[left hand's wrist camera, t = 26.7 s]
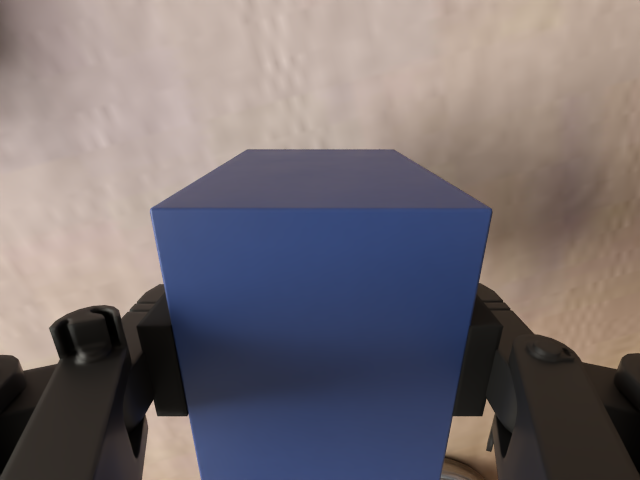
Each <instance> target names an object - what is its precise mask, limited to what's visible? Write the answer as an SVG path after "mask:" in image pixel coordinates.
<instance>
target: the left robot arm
mask: <svg viewBox="0 0 640 480" xmlns="http://www.w3.org/2000/svg"><path fill="white" fill-rule="evenodd" d="M49 329H50V332H51V335H52V338H53V341H54V344H55V346H56V349H57V352H58V355H59V358H60V360H59V362H58V364H55V365H50V366H45V367H40V368H35V369H30V370H25V371H23V370H22V367H21V365H20V362H19V360H18V359H17V358H15V357H14V356H11V355H0V480H142V473H143V465H144V457H145V449H146V442H147V434H148V424H147V419H146V415H145V413H146V412H147V410H148V408H149V406H150V405H151V403H152V401H153V399H154V404H155V408H156V412H157V416H188V408H187V403H186V397H185V392H184V387H183V382H182V376H181V371H180V366H179V361H178V356H177V350H176V345H175V340H174V335H173V329H172V324H171V319H170V314H169V308H168V303H167V298H166V293H165V287H164V284H159V285H158V286H156V287H154V288H153V289H151V290H149V291H147V292H146V293H145V294H144V295H143V296H142V297H141V298H140V299H139V300H138V301H137V304H135V305H134V306H133V307H132V308H131V309H130V312H127V313H126V314H125V315H124V316H123V318H122V319H121V317H120V313H119V310H118V309H116V308H115V307H113V306H106V305H101V306H91V307H87V308H83V309H79V310H76V311H74V312H71V313H69V314H66V315H65V316H63V317H62V318H60V319H58V320H57V321H55V322H54V323H53V324H52V325H51V326H50V328H49ZM486 398H487V400H488V401H489V403H490V405H491V407H492V408H493V410H494V412H495V415H494V419H493V423H492V427H491V431H490V435H489V439H488V443H487V449H486V451H490V452H491V451H492V447H493V444H494V449H495V456H496V464H497V472H498V480H640V353H635V354H627V355H625V356H624V357H622V359H621V361H620V364H619V366H618V369H613V368H608V367H603V366H598V365H593V364H588V363H584V362H581V360H580V358H579V357H578V356H577V354H576V353H575V352H574V351H573V350H572V349H570V348H569V347H567V346H566V345H565V344H563V343H561V342H559V341H556V340H554V339H552V338H549V337H545V336H541V335H535V334H534V333H533V332H532V331H531V330H530V329H529V328H528V327H527V326H526V325H525V324H524V323H523V322H522V320H521V319H520V318H519V317H518V316H517V315H516V314H515V313H514V312H513V311H511V310H510V308H509V307H508V306H507V304H506V303H503V300H502V299H501V298H500V297H499V296H498V295H497V294H496V293H495V292H494V291H493V290H491V289H489V288H488V287H486V286H484V285H482V284H481V283H479V284H478V289H477V294H476V299H475V304H474V309H473V314H472V320H471V325H470V327H469V332H468V337H467V342H466V347H465V352H464V358H463V363H462V368H461V373H460V378H459V383H458V389H457V394H456V399H455V404H454V409H453V414H452V416H482V415H483V411H484V407H485V403H486ZM440 480H485V479H484V478H483V477H482V476H481V475H480V474H479V473H478V472H477V471H475V470H474V469H472V468H471V467H469V466H467V465H465V464H463V463H460V462H457V461H455V460H451V459H448V458H444V463H443V468H442V473H441V478H440Z"/></svg>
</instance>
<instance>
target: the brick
mask: <svg viewBox="0 0 640 480" xmlns="http://www.w3.org/2000/svg"><path fill="white" fill-rule="evenodd" d="M150 214H151V219H152V225H153V230H154V235H155V240H156V246H157V251H158V256H159V261H160V266H161V272H162V277H163V282H164V287H165V293H166V298H167V303H168V308H169V314H170V319H171V324H172V329H173V335H174V340H175V345H176V350H177V356H178V361H179V366H180V371H181V376H182V382H183V387H184V392H185V397H186V403H187V408H188V413H189V418H190V424H191V429H192V434H193V439H194V445H195V450H196V455H197V460H198V466H199V471H200V476H201V480H440V478H441V473H442V468H443V463H444V458H445V453H446V448H447V443H448V437H449V432H450V427H451V422H452V417H453V416H452V414H453V409H454V404H455V399H456V394H457V389H458V383H459V378H460V373H461V368H462V363H463V358H464V352H465V347H466V342H467V337H468V332H469V327H470V325H471V320H472V314H473V309H474V304H475V299H476V294H477V289H478V284H479V279H480V273H481V268H482V263H483V258H484V253H485V248H486V243H487V238H488V232H489V227H490V222H491V217H492V209H491V208H490V207H488V206H486V205H485V204H483V203H481V202H480V201H478V200H476V199H475V198H473V197H472V196H470V195H468V194H467V193H465V192H463V191H462V190H460V189H458V188H457V187H455V186H453V185H452V184H450V183H448V182H447V181H445V180H443V179H442V178H440V177H438V176H437V175H435V174H433V173H432V172H430V171H429V170H427V169H425V168H424V167H422V166H420V165H419V164H417V163H415V162H414V161H412V160H410V159H409V158H407V157H405V156H404V155H402V154H400V153H399V152H397V151H395V150H268V149H248V150H246V151H244V152H242V153H241V154H239V155H237V156H236V157H234V158H233V159H231V160H229V161H228V162H226V163H224V164H223V165H221V166H219V167H218V168H216V169H215V170H213V171H211V172H210V173H208V174H206V175H205V176H203V177H201V178H200V179H198V180H197V181H195V182H193V183H192V184H190V185H188V186H187V187H185V188H183V189H182V190H180V191H179V192H177V193H175V194H174V195H172V196H170V197H169V198H167V199H166V200H164V201H162V202H161V203H159V204H157V205H156V206H154V207H152V208H151V209H150Z"/></svg>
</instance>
